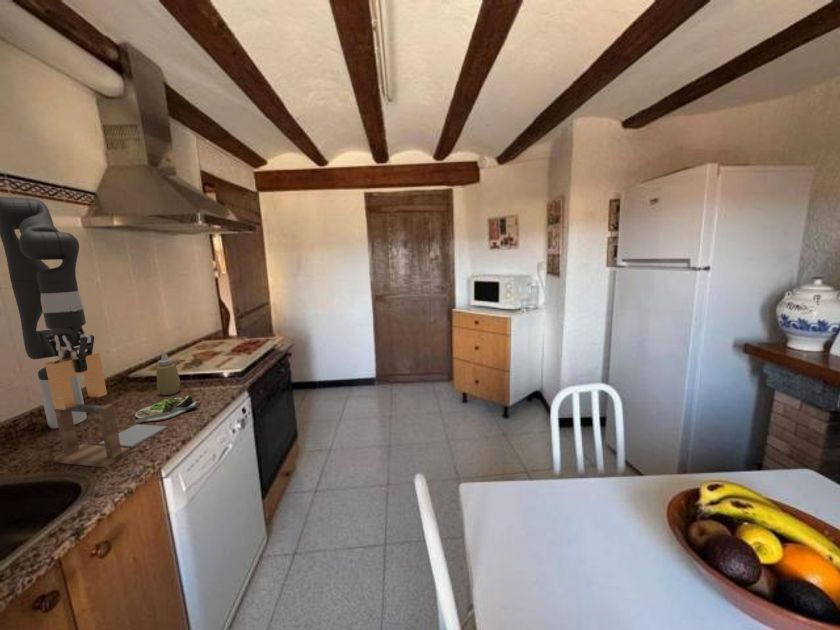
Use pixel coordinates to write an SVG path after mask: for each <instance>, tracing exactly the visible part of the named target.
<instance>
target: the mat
mask: <svg viewBox="0 0 840 630" xmlns="http://www.w3.org/2000/svg"><path fill="white" fill-rule="evenodd" d="M167 429H168V426H164V425H150V424H134V425H132V426H131V427H129V428H127V429H124V430H123V431H120V432H118V435H119V440H120V445H121V448H130V449H131V448H134V447H136V446H138V445H139V444H141V443H143V442H145V441H146V440H149V439H151V438H153V437H154V436H156V435H157V434H159V433H161V432H164V431H165V430H167ZM98 446H105V443H104V440H102V441H101V442H99V443H98Z"/></svg>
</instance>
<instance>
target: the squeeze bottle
mask: <svg viewBox="0 0 840 630" xmlns="http://www.w3.org/2000/svg"><path fill="white" fill-rule="evenodd" d="M160 358H161V359H160V360H158V361H157V362H158V365H157V367H156V370H155V371H156V388H157V389H158V391H159V393H160V395H162V396H170V395H173V394H174V395H175V394H176V393H177V394H178V393H179V391H180V387H181V380H180V375H179V372H178V369H177V365H176V363H173V359H172V358H169V357H168V354H167V352H166V351H162V352H161V357H160Z"/></svg>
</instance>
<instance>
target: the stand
mask: <svg viewBox="0 0 840 630" xmlns="http://www.w3.org/2000/svg"><path fill="white" fill-rule="evenodd" d="M54 409H55V408H54ZM71 411H74V412H86V413H89V414H90V413H92V414H98V417H99V422H100V427H101V432H102V438H103V441H104V443H105V445H99V444H98V445H94V444H84V443H83V444H80V445H79V441H78V436H77V431H76V427H75V425H74V422H73V417H72V412H71ZM55 413H56V418H57V423H58V427H59V428H58V432H59V435H60V436H59V437H60V440H61V445H62V449H63V453H61V454H58V455H57V456H55V457H54V462H55V463H57V462H58V464H59V463H60V464H69V465H76V466H77V465H79V466H80V465H81V466H88V467H89V466H90V467H98V468H107V467H109V466H111V465H113V464H115V463H116V462H118V461H119V460H121V459H122V458H125V457H126V456H128V455H130V454H131V453H132V452H131V448H129V447H121V445H120V440H119V435H118V433H119V431H118V425H117V419H116V415H115V408H114V405H113V404H109V403H107V404H104V405H95V404H84V405H82V404H76V406H74V407H71V408H69V409H66V410H62V409H55ZM110 464H111V465H110Z"/></svg>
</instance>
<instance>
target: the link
mask: <svg viewBox="0 0 840 630" xmlns="http://www.w3.org/2000/svg"><path fill="white" fill-rule="evenodd" d="M74 360H75V359H74V357H73V356H72V357H69V358H65V359H61V360H59V359H57V360H53V361H50V362H46V363H44V365H45V367H46V371H47V376H48V380H49V385H50V389H51V394H52V399H53V403H54V408H55V409H62V410H66V409H69V408H71V407H74V406H76V404H75V399H74V395H73V390H72V385H71V380H70V377H73V376H76V375H78V376H80V375H83V378H84V382H85V389H86V391H87V397H88V398H100V397H103V396H106V395H108V392H107V387H106V382H105V376H104V370H103V366H102V360H101V354H100V352H97V351H95V352H93V351H92V355H89V356H87V357H86V363H87V371H84V372H81V373H78V372H76V367H75V362H74ZM45 367H44V368H45Z"/></svg>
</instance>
